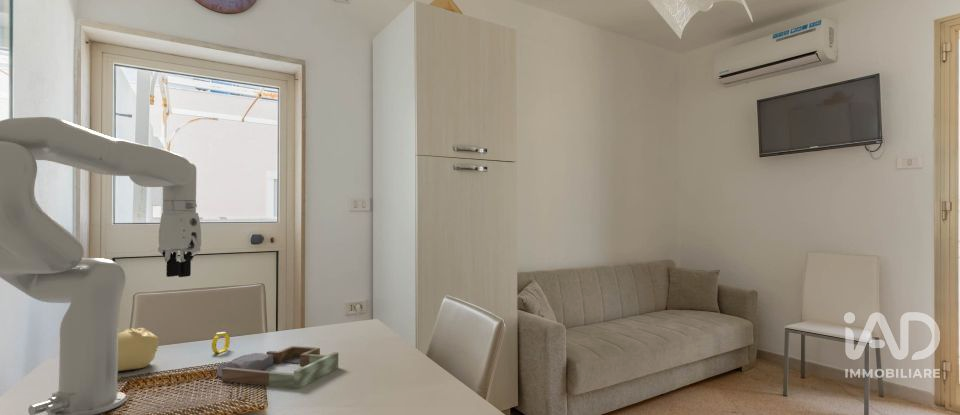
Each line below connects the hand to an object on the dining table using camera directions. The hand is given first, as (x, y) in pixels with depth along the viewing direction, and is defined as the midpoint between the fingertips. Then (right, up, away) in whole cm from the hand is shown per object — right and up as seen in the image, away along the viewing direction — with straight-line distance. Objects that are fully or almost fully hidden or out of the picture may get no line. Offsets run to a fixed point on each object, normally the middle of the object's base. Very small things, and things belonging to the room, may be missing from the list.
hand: (178, 275), depth 122 cm
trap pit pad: (+29, -25, +7) cm, 39 cm away
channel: (+30, -25, -1) cm, 39 cm away
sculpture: (-14, -26, +2) cm, 30 cm away
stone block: (+18, -26, -1) cm, 31 cm away
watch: (+1, -26, +17) cm, 31 cm away
